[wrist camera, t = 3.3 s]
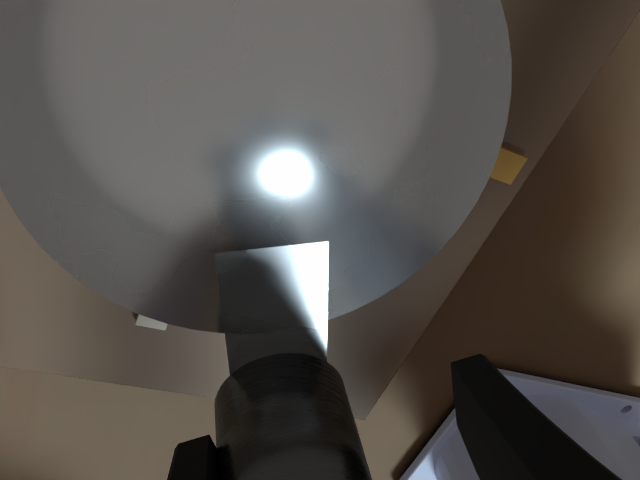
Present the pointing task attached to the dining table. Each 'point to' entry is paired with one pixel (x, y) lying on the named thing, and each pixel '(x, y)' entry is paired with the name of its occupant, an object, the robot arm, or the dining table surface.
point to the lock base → (345, 330)
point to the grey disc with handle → (253, 177)
